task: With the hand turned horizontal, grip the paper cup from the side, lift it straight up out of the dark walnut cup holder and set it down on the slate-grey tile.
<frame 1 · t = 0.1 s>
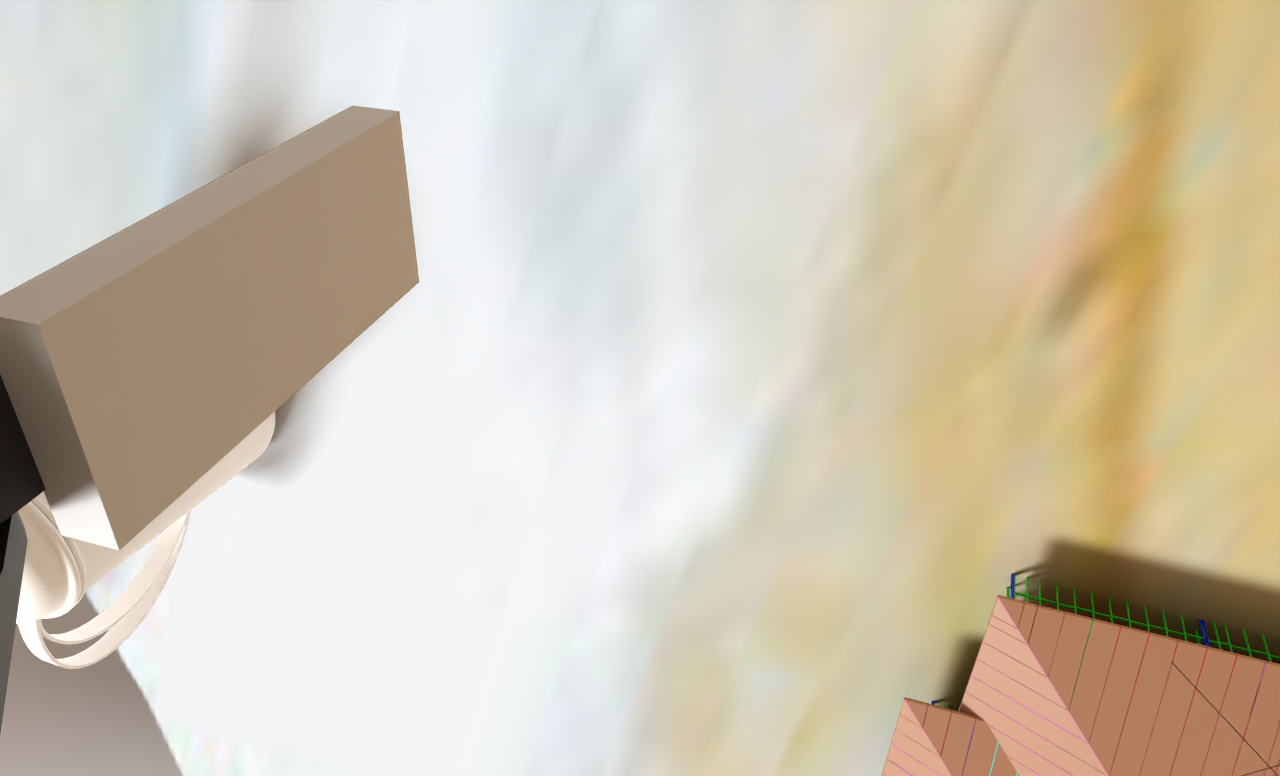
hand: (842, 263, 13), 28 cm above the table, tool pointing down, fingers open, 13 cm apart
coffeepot: (204, 372, 59), on the table
house: (1214, 774, 52), on the table
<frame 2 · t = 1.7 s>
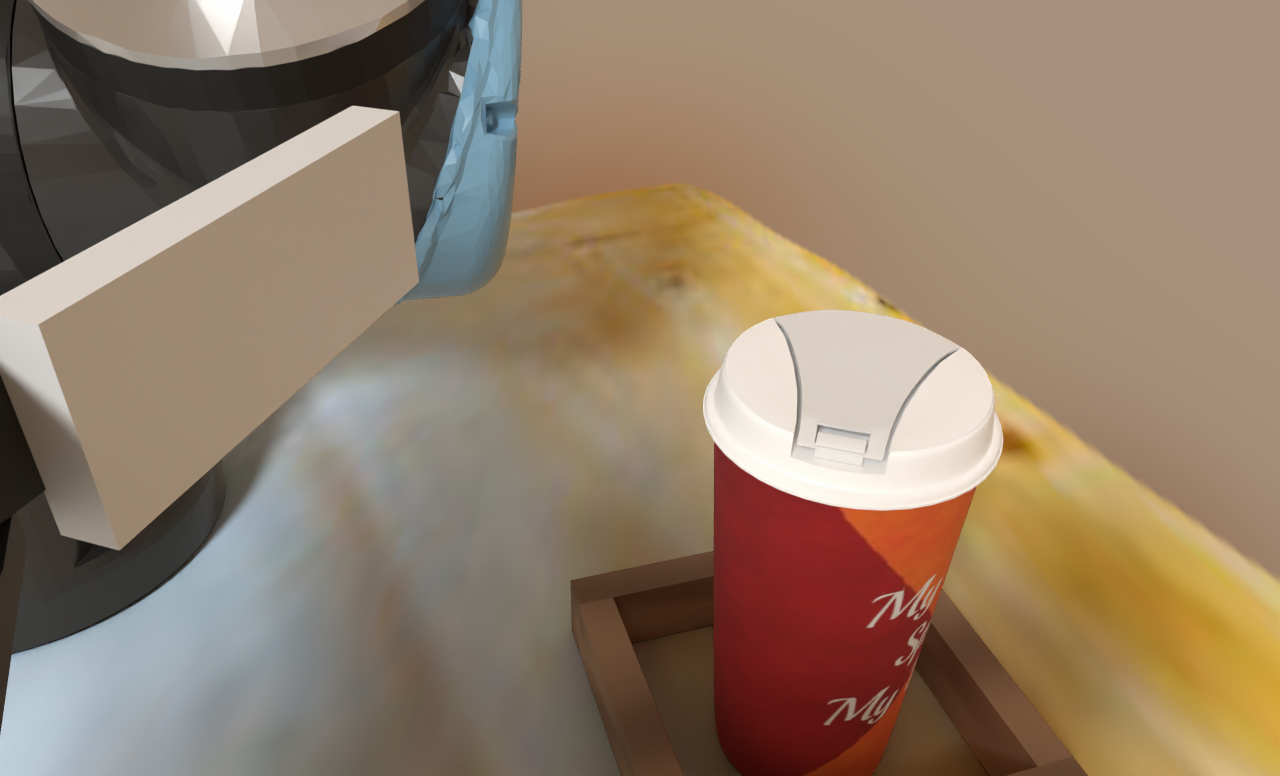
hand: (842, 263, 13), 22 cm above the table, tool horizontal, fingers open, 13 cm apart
paper cup: (798, 729, 33), resting in cup holder
cup holder: (799, 725, 33), on the table
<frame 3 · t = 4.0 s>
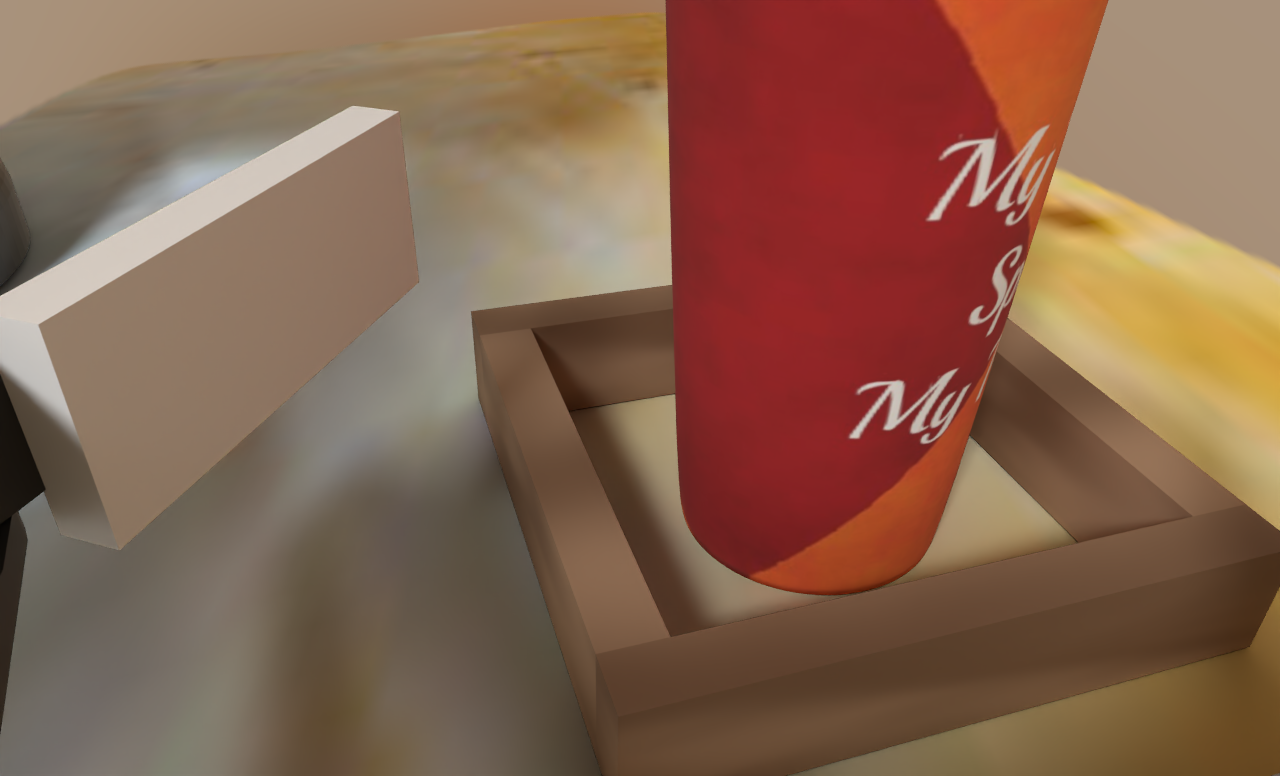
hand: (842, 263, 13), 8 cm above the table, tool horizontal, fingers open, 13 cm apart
paper cup: (805, 511, 22), resting in cup holder
cup holder: (806, 503, 22), on the table
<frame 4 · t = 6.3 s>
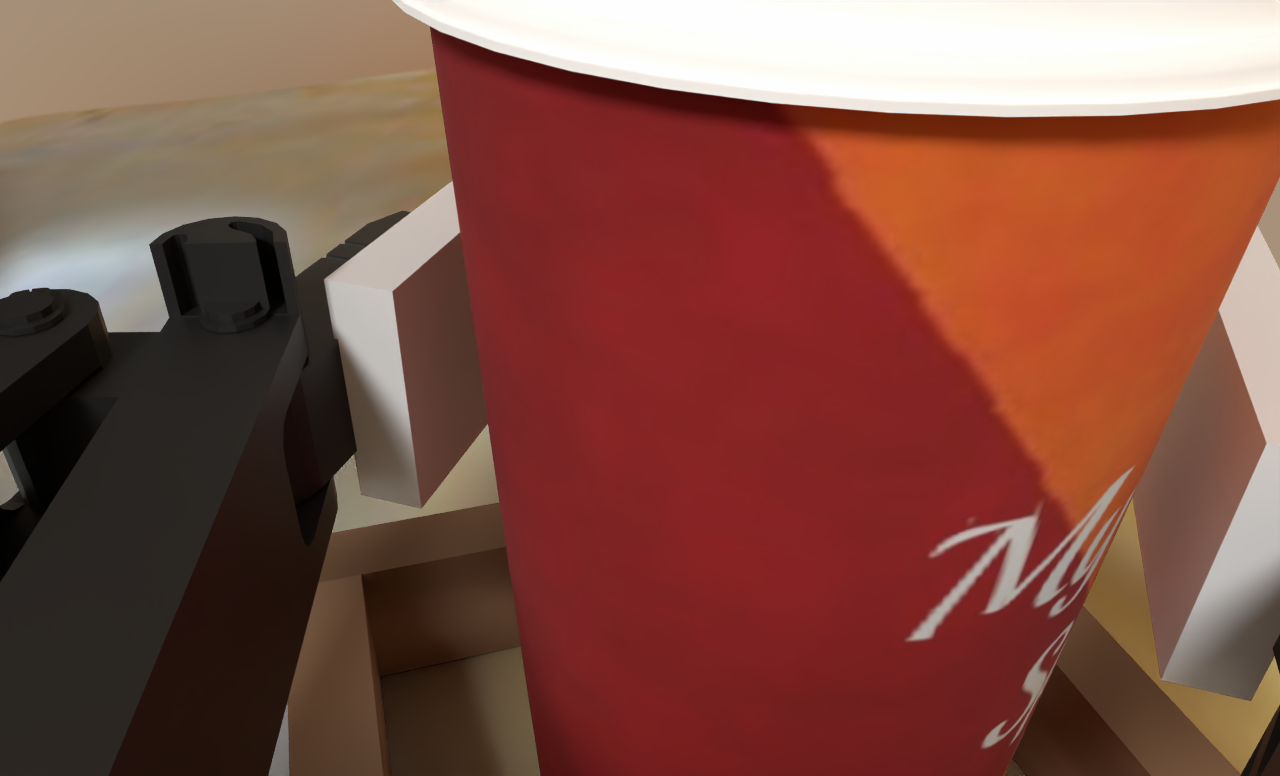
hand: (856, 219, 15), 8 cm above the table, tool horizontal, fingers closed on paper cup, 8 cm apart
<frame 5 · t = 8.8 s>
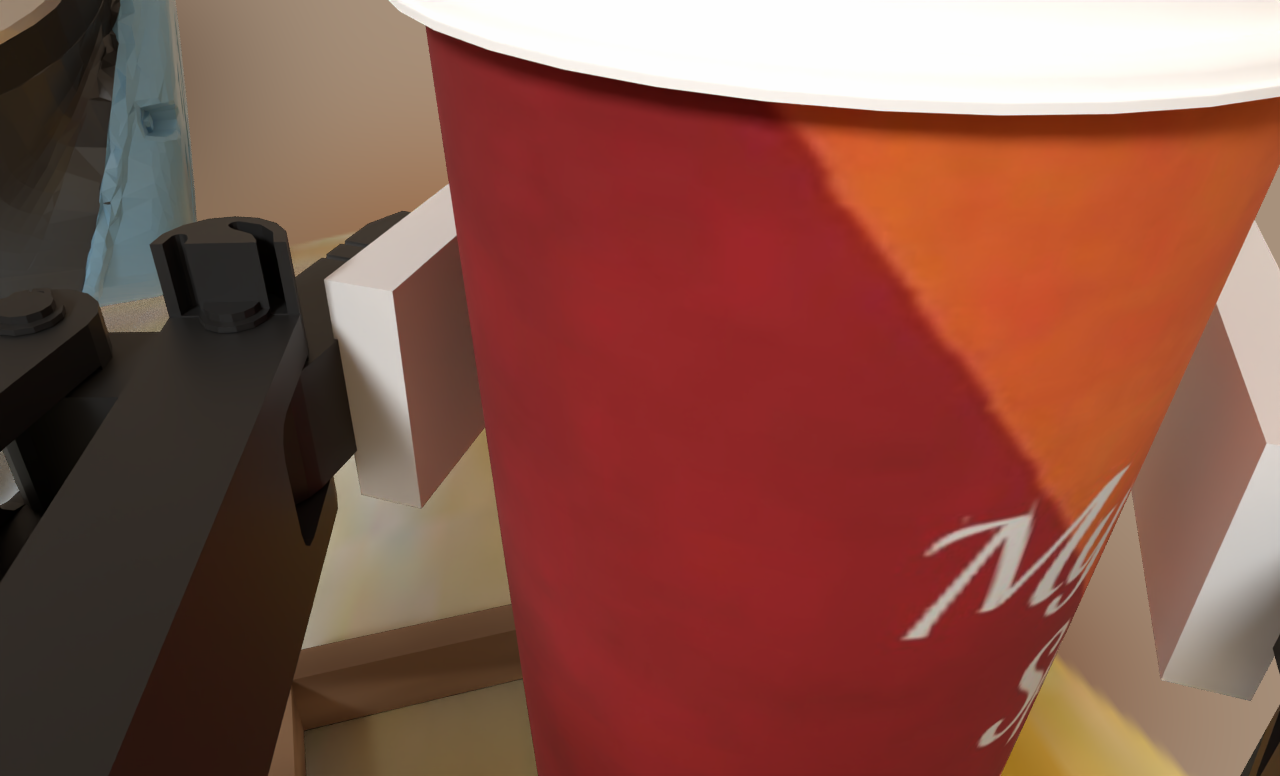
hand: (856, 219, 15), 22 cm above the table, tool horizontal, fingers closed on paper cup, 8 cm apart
when the fingers open (11 cm above the table, at t = 11.7 s): paper cup drops 1 cm, resting on slate tile.
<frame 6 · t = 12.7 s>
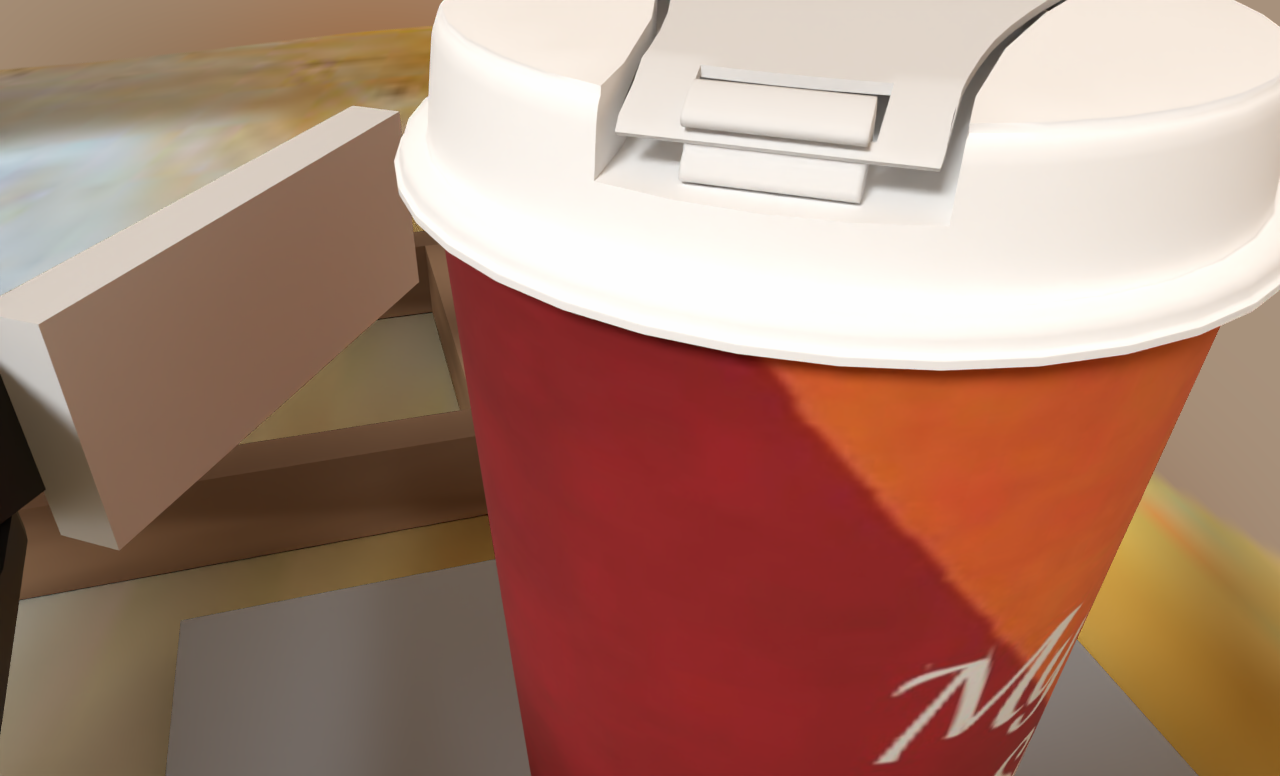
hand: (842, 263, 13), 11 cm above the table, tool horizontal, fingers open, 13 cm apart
cup holder: (283, 412, 29), on the table
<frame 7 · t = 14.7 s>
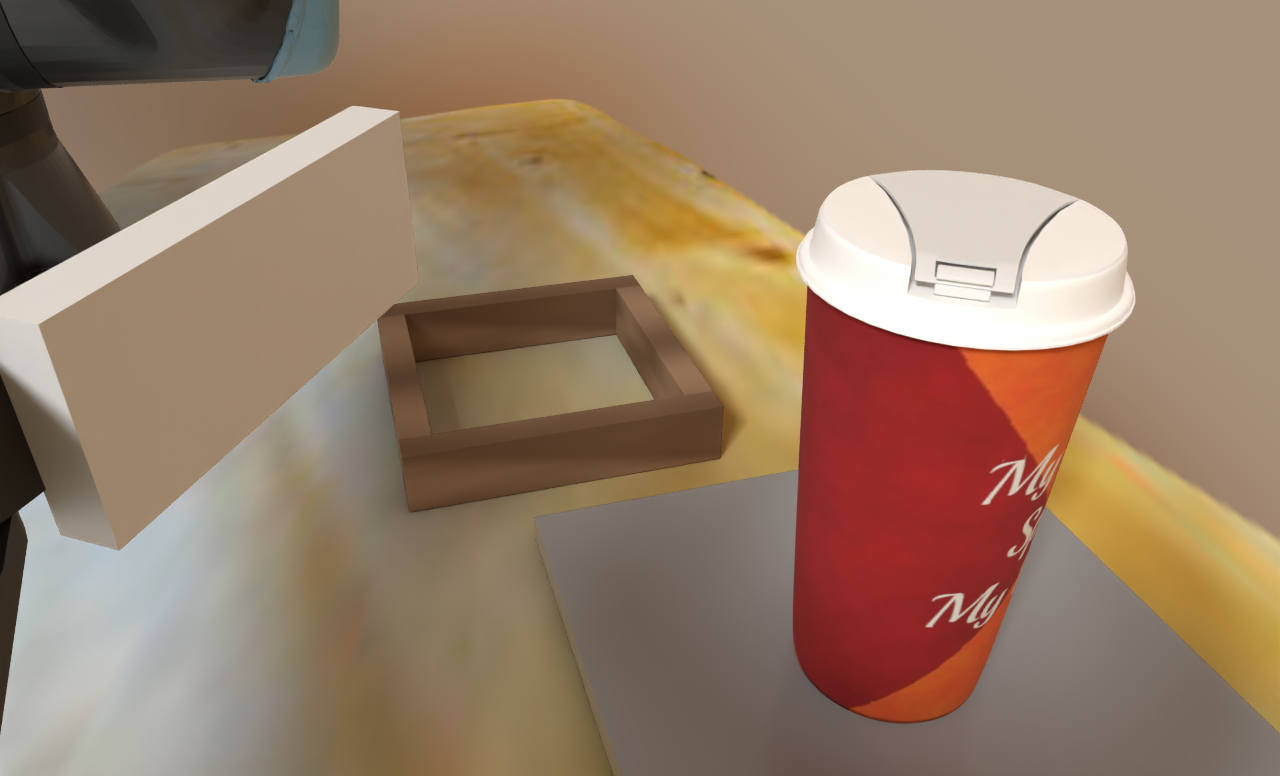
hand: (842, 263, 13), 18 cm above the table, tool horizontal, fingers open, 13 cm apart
slate tile: (879, 668, 31), on the table
paper cup: (883, 653, 30), point 1 cm above the table, touching slate tile
cup holder: (537, 401, 44), on the table
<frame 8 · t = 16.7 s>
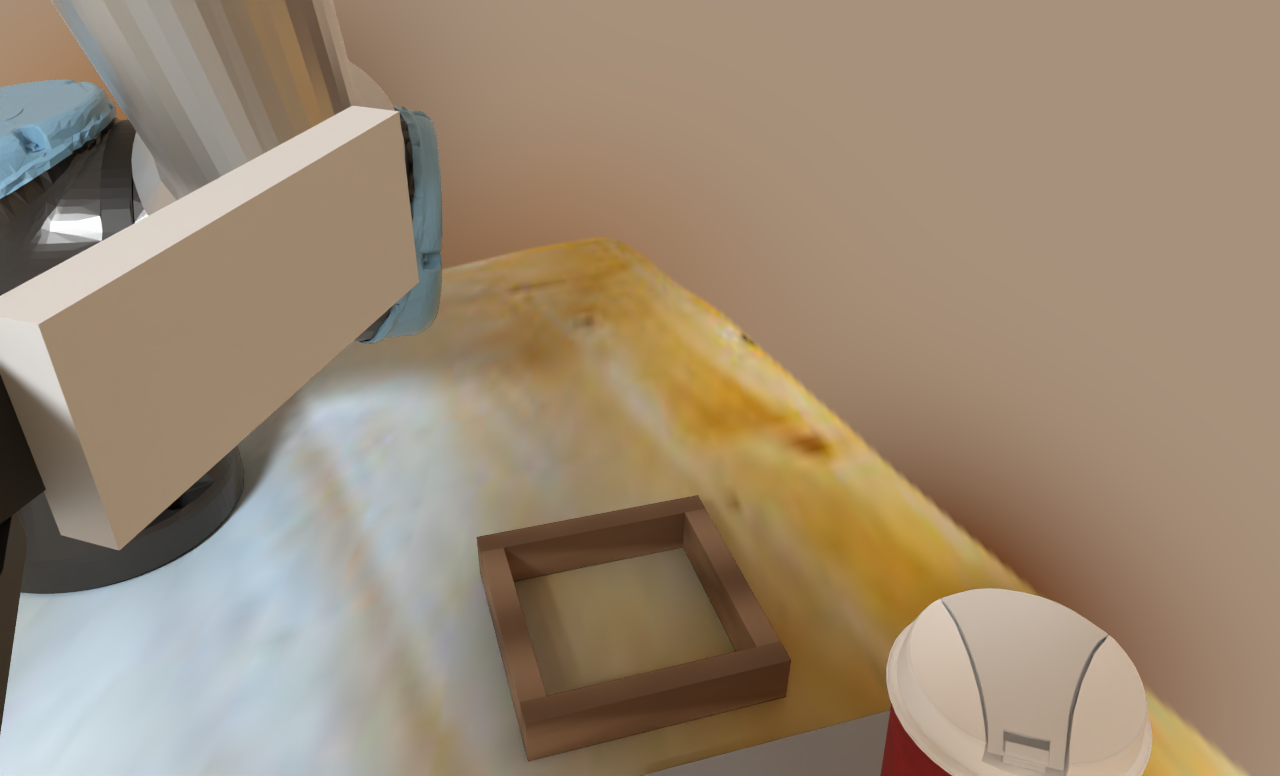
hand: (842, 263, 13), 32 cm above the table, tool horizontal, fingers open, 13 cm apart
cup holder: (622, 630, 50), on the table
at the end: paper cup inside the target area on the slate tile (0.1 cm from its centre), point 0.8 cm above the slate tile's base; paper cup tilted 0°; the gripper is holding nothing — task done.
